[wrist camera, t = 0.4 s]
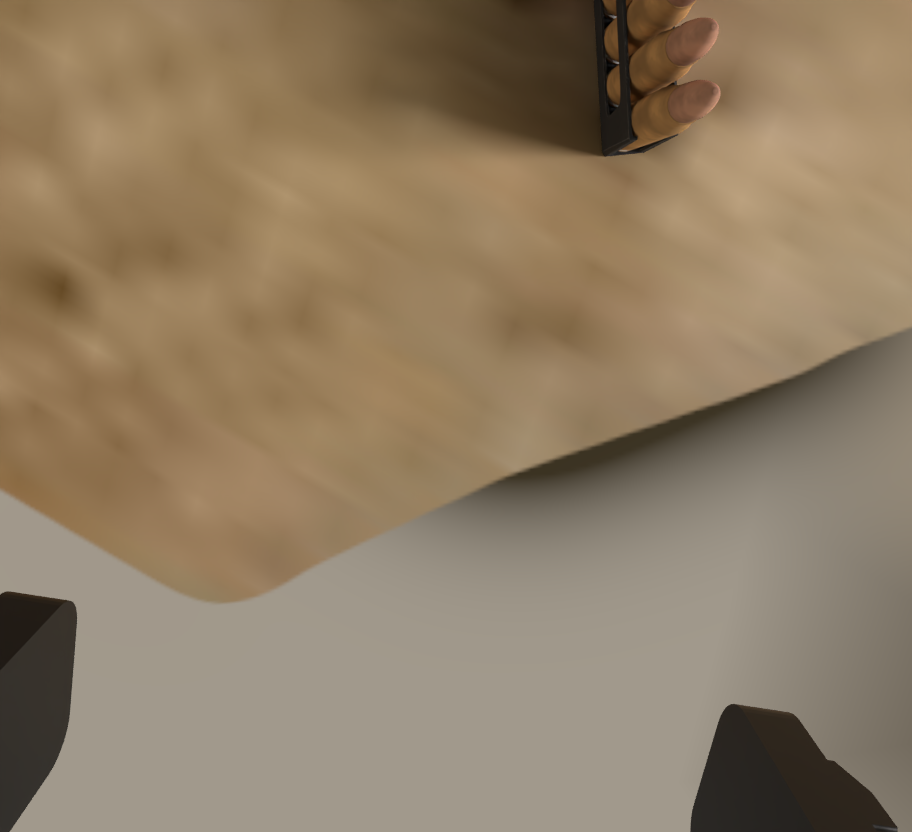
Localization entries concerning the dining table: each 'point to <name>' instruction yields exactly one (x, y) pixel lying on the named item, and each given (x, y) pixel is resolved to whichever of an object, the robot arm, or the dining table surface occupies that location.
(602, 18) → the ammunition clip
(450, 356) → the dining table surface
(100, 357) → the dining table surface
